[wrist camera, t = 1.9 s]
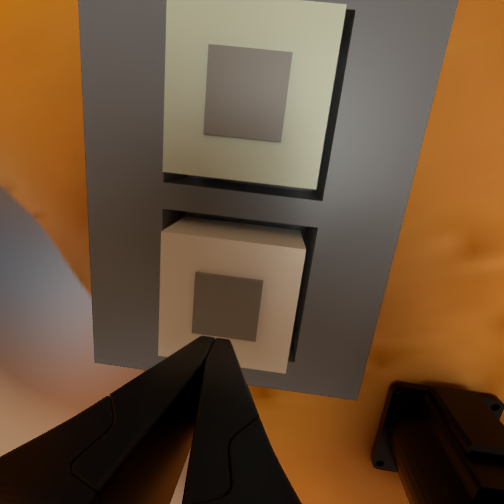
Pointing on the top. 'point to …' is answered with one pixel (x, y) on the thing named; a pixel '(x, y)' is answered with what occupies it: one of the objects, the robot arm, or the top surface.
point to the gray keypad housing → (258, 194)
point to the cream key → (230, 288)
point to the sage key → (249, 88)
